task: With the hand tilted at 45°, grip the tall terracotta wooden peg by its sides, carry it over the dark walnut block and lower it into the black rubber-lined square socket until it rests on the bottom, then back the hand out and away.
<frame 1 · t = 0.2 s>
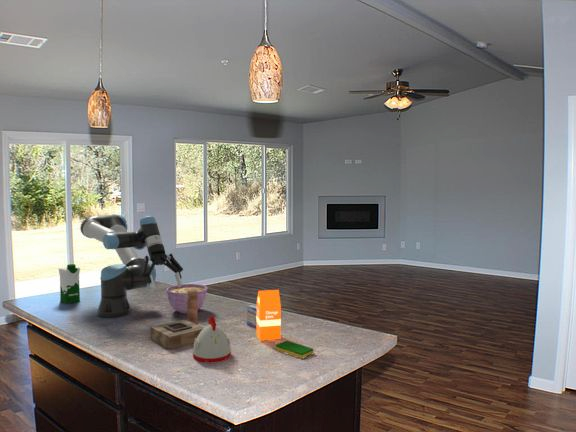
hand: (167, 287, 216), 16 cm above the counter, tool tilted 35°, fingers open, 13 cm apart
dish sponge: (293, 353, 182), on the counter
medicine box: (256, 325, 214), on the counter
walnut socket block: (177, 339, 194), on the counter
kitchen timer: (212, 356, 177), on the counter
bowl of food: (187, 311, 235), on the counter
orange juice: (268, 337, 198), on the counter
terracotta peg: (192, 325, 212), on the counter
milk carton: (70, 301, 251), on the counter
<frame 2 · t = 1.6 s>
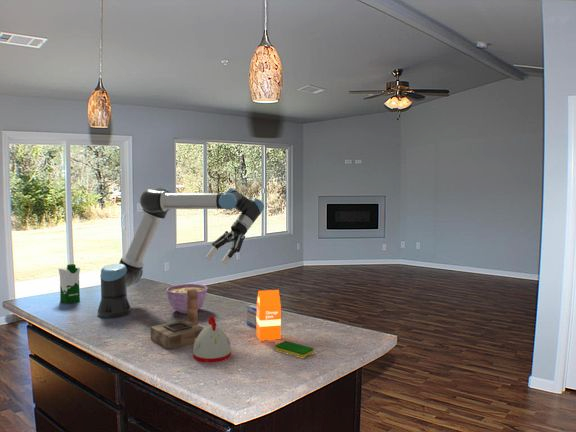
hand: (215, 260, 218), 28 cm above the counter, tool tilted 45°, fingers open, 13 cm apart
nothing on the counter moved.
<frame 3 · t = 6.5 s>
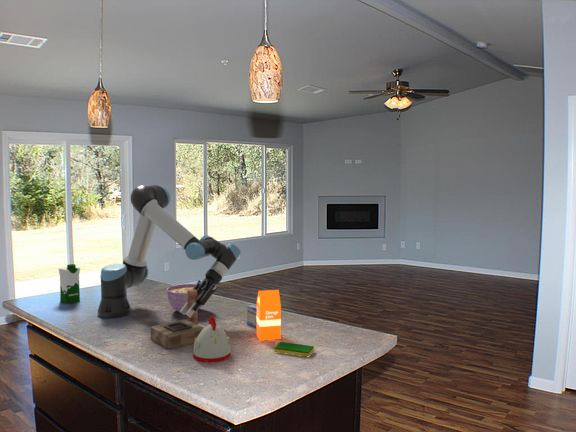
hand: (185, 314, 209), 6 cm above the counter, tool tilted 45°, fingers closed on terracotta peg, 4 cm apart
terracotta peg: (192, 325, 212), on the counter, touching gripper
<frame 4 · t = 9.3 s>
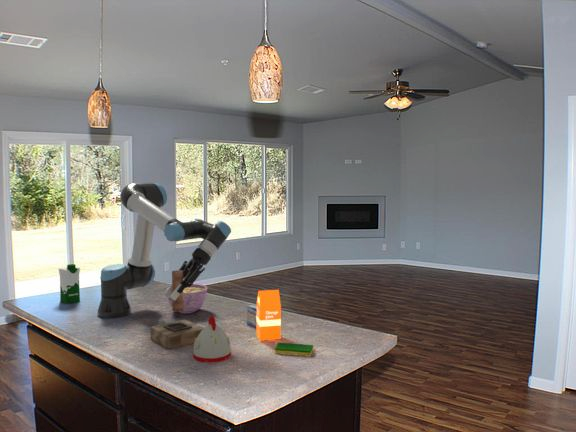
hand: (169, 297, 190), 18 cm above the counter, tool tilted 45°, fingers closed on terracotta peg, 4 cm apart
terracotta peg: (177, 310, 193), point 12 cm above the counter, touching gripper
when the fingers open (7 cm above the counter, at t = 12.0 s): terracotta peg drops 1 cm, resting in walnut socket block.
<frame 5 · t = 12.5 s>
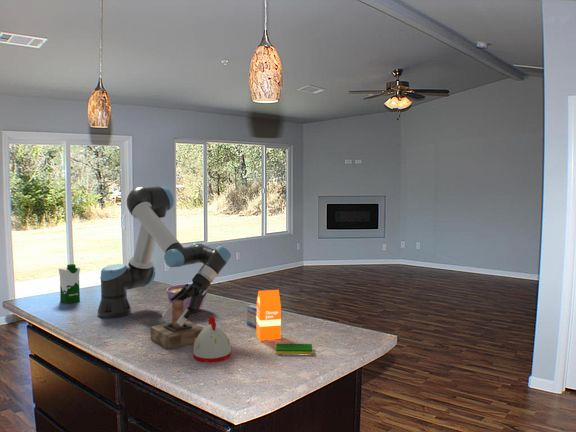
hand: (171, 320, 191), 8 cm above the counter, tool tilted 45°, fingers open, 11 cm apart
terracotta peg: (177, 339, 194), resting in walnut socket block
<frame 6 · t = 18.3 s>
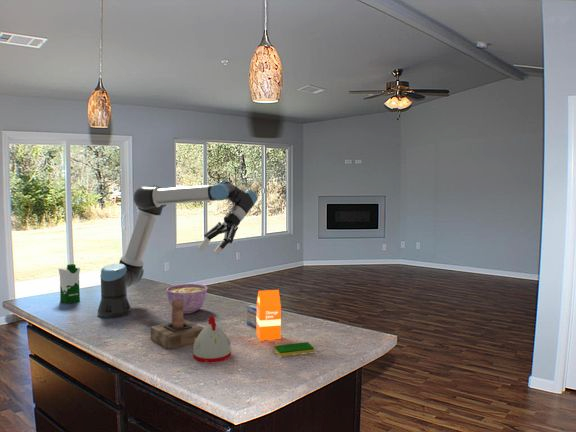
hand: (207, 251, 216), 33 cm above the counter, tool tilted 45°, fingers open, 13 cm apart
at the end: terracotta peg 0.1 cm off-centre on the walnut socket block, point 0.0 cm above the walnut socket block's base; terracotta peg tilted 0°; the gripper is holding nothing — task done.
